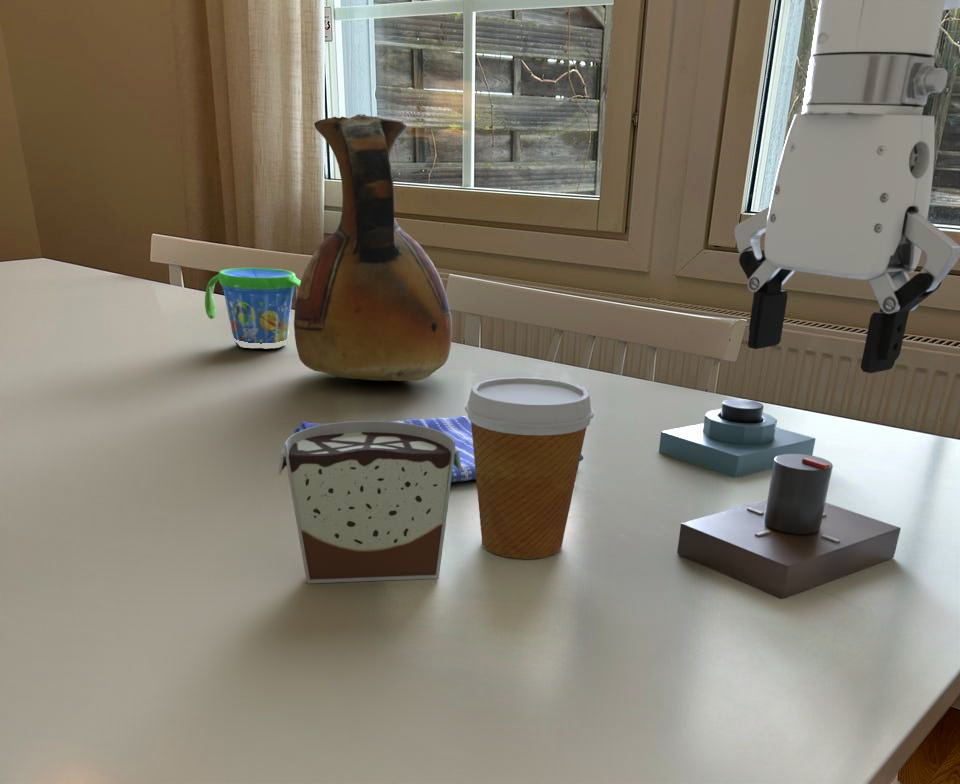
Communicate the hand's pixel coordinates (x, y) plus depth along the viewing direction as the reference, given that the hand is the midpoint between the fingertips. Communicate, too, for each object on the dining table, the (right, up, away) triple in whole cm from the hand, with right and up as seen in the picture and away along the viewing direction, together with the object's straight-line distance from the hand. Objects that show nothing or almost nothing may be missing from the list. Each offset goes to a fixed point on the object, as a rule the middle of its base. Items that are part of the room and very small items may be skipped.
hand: (817, 357), depth 72 cm
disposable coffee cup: (-21, -13, +5) cm, 26 cm away
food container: (-33, -15, +1) cm, 36 cm away
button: (+1, +1, +27) cm, 27 cm away
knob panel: (-1, -14, +5) cm, 15 cm away
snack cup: (-56, +22, +70) cm, 93 cm away
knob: (-1, -12, +4) cm, 12 cm away
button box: (+1, -2, +29) cm, 29 cm away
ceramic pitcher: (-38, +12, +54) cm, 67 cm away
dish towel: (-29, -3, +24) cm, 38 cm away
